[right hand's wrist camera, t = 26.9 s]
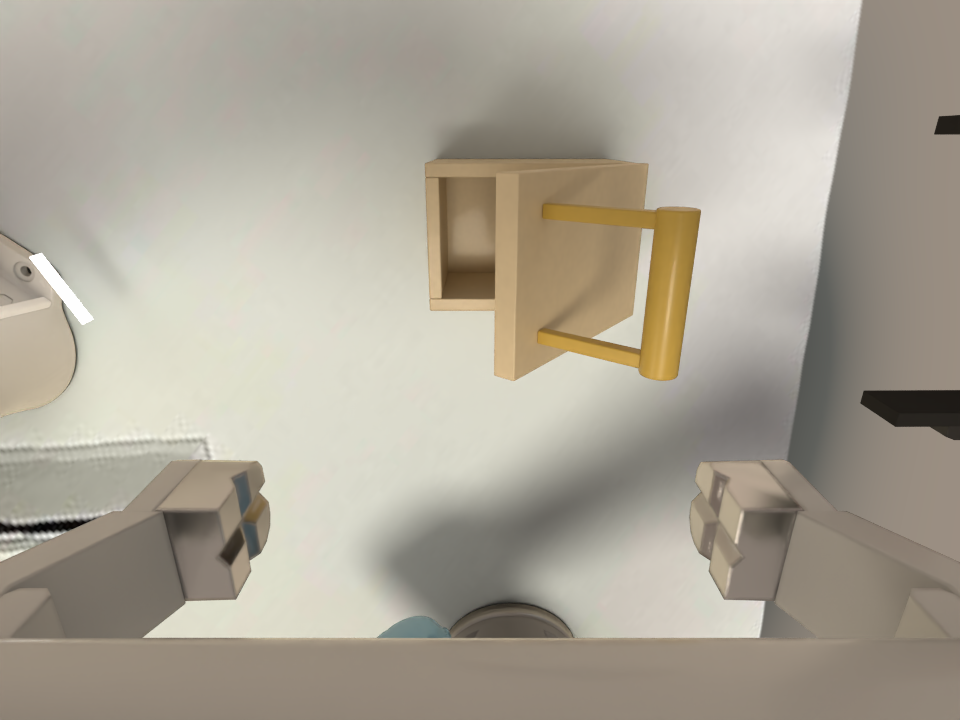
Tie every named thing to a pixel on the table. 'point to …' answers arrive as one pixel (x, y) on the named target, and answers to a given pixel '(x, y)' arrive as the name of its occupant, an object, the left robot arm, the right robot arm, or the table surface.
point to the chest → (470, 226)
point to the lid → (587, 268)
